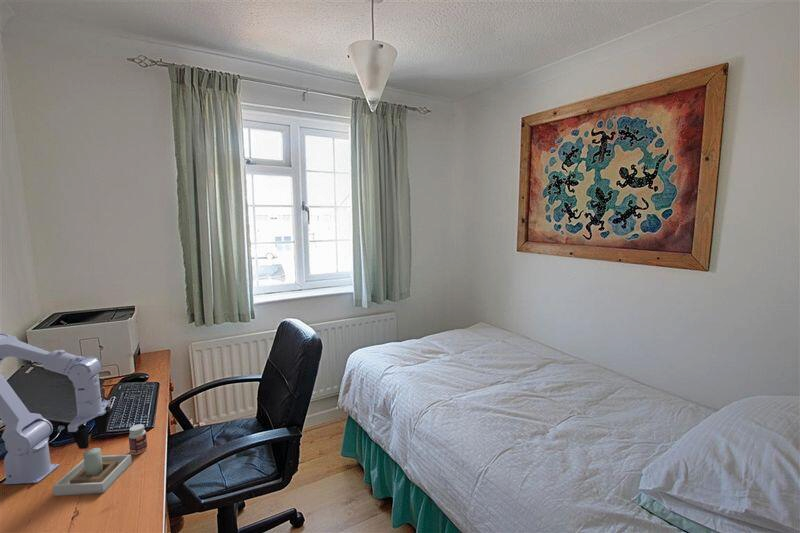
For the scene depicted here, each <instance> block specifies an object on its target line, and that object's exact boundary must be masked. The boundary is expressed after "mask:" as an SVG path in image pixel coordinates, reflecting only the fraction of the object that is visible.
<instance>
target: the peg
mask: <svg viewBox="0 0 800 533" xmlns="http://www.w3.org/2000/svg"><path fill="white" fill-rule="evenodd" d="M101 449H102V448H101V447H93V448H90V449H87V450H86V451H84V453H82V454H83V459H84V464H85V473H86V477H95V476H99V475H100V474H101V473H102V472H103V465H102V456H103V455H102V450H101Z"/></svg>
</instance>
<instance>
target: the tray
mask: <svg viewBox="0 0 800 533" xmlns="http://www.w3.org/2000/svg"><path fill="white" fill-rule="evenodd" d="M101 456H102V465H103V472H102V473H101V474H100V475H99V476H95V477H86V473H85V464H84V458H83V459H81V461H80V462H79V463H78V464H76V465H75V466H74V467H73V468H71V469H70V471H68V472H67V473H66V474H65V475H64V476H62V478H60V479H59V480H58V481H57V482H55V484H53V486H52V488H53V495H54V496H55V497H57V496H75V495H76V496H78V495H95V494H105V492H106V491H107V490H108V489H109V488H110V487H111V486H112V485H113V484H114V483H115V482H116V480H118V479H119V477H120V476H121V475H122V474H123V473H124V472H125V471H126V470H127V469H128V468H129V467H130V466H131V465H132V464H133V462H132V454H131V453H130V454H111V455H110V454H109V455H108V454H107V455H101Z"/></svg>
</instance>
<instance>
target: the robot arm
mask: <svg viewBox="0 0 800 533" xmlns="http://www.w3.org/2000/svg"><path fill="white" fill-rule="evenodd" d="M9 357H12V358H16V359H17V358H18V359H21V360H25V361H29V362H34V363H39V364H41V365H42V367H43V368H44V369H45V370H46V371H47V370H48V371H51V372H55V373H58V374H61V375H65V376H67V377H68V379H69V380H70V381H71V382H72V386H73V387H74V394H75V395H74V396H75V404H76V410H77V411H76V412H77V414H76V416H74V418H73V419H72V421H71V422H70V423H69V424H68V425H67V428H66V433H67V434H68V435H69V436H71V438H72V439H73V441H74V442H75V443H76V445H77V447H78V449H79V450H86V449H87V450H88V448H89V446H90V444H89V443H90V442H89V440H90V439H89V438H90V437H89V435H90V433H91V432H90V431H91V429H92V426H86V425H85V424H86V423H87V422H89V421H91V420H93V421H94V424H95V428H96V433H97V434H98V435H100V434H102V435H103V434H106V433H107V432H108V431H107V430H108V425H109V421H110V418H111V416H112V414H113V412H114V408H112V407H111V400H108V399H107V400H102V397H101V396H102V394H101V386H100V385H101V384H100V375H99V373H100V372H101V371H102V370H103V363H102V361H101V360H100V358H98V357H96V356H94V355H88V356H86V357H85V356H81V355H76V354H71V353H68V352H66V350H64V349H55V350H53V351H49V350H46V349H43V348H40V347H38V346H35V345H33V344H32V345H31V344H29V343H27V342H23V341H22V340H19V339H18V338H17V336H15V335H9V334H7V333H4V332H0V365H1V364H2V362H3V360H4V359H5V358H9ZM0 420H1V421H2V422H3V423H4V425H5V428H4V429H3V433H2V435H1V439H2V440H3V442H4V447H5V449H6V451H7V453H6V455H5V456H4V459H3V467H4V474H5V481H4V482H3V485H18V484H37V483H38V484H39V483H40V482H41V481H42V480H43V479H44V478H46V477H47V476H48V475H49V474H50V473H53V471H54V470H55V469H57V468H58V467H59V466H60V463H52V462H51V457H50V448H49V440H50V436H51V434H52V433H53V430H54V427H53V424H52V423H51V421H50V420H48V419H46V418H44V416H42V414H40V413H35V412H34V413H33V412H30V411H29V410H28V407H26V405H25V404H24V403H23V401H22V399H20V397H19V396H18V395H17V393H16V392H15V390H14V388H13V387H11V385H10V384H9V382H8V381H7V380H6V378H5V377H4V376H3V374H2V373H1V372H0Z"/></svg>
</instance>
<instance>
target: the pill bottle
mask: <svg viewBox="0 0 800 533" xmlns="http://www.w3.org/2000/svg"><path fill="white" fill-rule="evenodd" d="M147 442H148V441H147V431H146V430H145V425H144V424H142V423H138V424H134V425H132V426H130V427H129V435H128V444H129V445H128V446H129V452H130V454H131V455H136V456H137V455H140V454H142V453H145V452H146V451H147V449H148V443H147Z"/></svg>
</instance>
